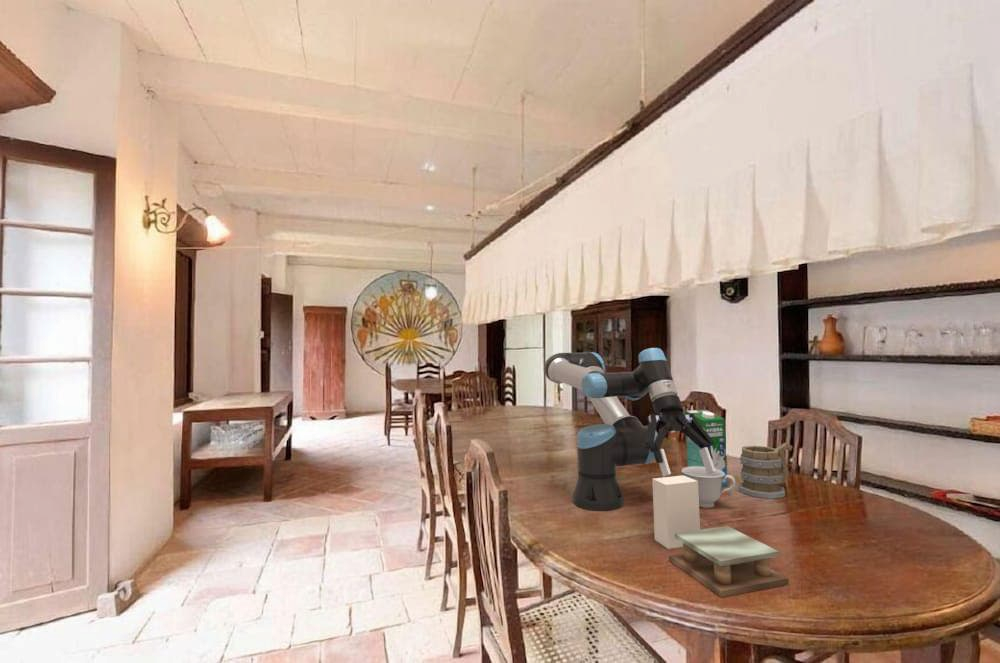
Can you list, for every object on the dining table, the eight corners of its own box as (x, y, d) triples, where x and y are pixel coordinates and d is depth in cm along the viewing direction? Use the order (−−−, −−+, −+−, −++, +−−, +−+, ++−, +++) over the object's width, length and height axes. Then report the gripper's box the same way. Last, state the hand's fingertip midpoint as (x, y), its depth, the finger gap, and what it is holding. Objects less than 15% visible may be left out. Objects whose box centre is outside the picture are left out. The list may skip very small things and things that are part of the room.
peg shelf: (669, 560, 102) (668, 532, 102) (728, 550, 106) (727, 523, 106) (721, 597, 86) (719, 564, 87) (788, 584, 90) (787, 552, 91)
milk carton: (705, 488, 153) (702, 413, 154) (687, 481, 162) (684, 410, 163) (727, 485, 156) (724, 412, 157) (708, 478, 164) (705, 409, 165)
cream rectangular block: (654, 539, 113) (652, 478, 114) (685, 535, 115) (683, 475, 116) (668, 548, 108) (665, 484, 108) (700, 543, 110) (698, 481, 111)
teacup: (732, 516, 127) (731, 480, 127) (677, 506, 136) (676, 472, 136) (740, 504, 137) (739, 470, 137) (688, 495, 146) (687, 464, 146)
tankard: (762, 500, 140) (759, 451, 140) (730, 488, 152) (729, 443, 152) (812, 493, 145) (810, 446, 146) (778, 483, 157) (776, 439, 158)
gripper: (632, 393, 123) (655, 472, 112) (710, 393, 130) (738, 467, 119) (619, 404, 129) (640, 480, 118) (694, 403, 136) (720, 475, 125)
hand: (689, 474), depth 118 cm, fingers open, 13 cm apart
